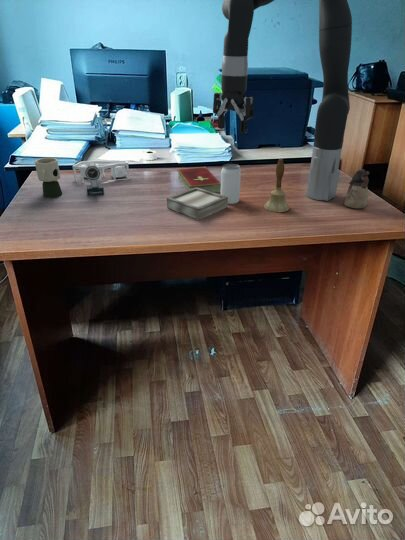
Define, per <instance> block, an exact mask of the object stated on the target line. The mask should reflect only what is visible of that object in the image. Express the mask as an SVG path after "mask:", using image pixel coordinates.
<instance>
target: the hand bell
mask: <svg viewBox="0 0 405 540" xmlns="http://www.w3.org/2000/svg"><path fill="white" fill-rule="evenodd" d="M284 173H285V163H284V159H283V158H279V159H278V161H277V164H276V167H275V176H276V184H275V189H273V190H271V192H270V196H269V199H268V201H267V202H266V203H265V204H264V205H263V207H264V210H266V211H268V212H270V213H271V212H272V213H285V212H288V211H289V210H290V205H289V204H288V203H287V200H286V192H285V191H284V190H282V182H283V181H282V179H283V176H284Z"/></svg>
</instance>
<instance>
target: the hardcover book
mask: <svg viewBox="0 0 405 540" xmlns="http://www.w3.org/2000/svg"><path fill="white" fill-rule="evenodd" d="M176 170H177V173H178V174H177V175H178V179H180V181H181V182H182V184H183V186H184V187H185V189H186V191H187V190H190V189H193V188H195V187H197V188H200V189H204V190H207V191H210V192H213V193H221V181H219V179H217V178H216V176H215V175H214V174H213V173H212V172H211V171H210V169H208V168H207V167H206V166H200V167H199V166H198V167H197V166H196V167H187V168H185V167H184V168H176Z"/></svg>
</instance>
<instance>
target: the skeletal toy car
mask: <svg viewBox="0 0 405 540" xmlns="http://www.w3.org/2000/svg"><path fill="white" fill-rule="evenodd" d="M91 163H95V165H97V167H98V169H99V171H100V172H101V173H102V174H100V177H99V182H98V184H100V182H102V181H103V179H102V177H103V178H105V177H106V174H105V173H106V172H105V170H106V169H110V175H111V177H112V178H113V179H108V180H106V181H105V182H104V184H107V183H113V182H116V181H121V180H122V181H123V180H130V170H129V161H127V160H121V159H119V160H83V161H79V162H78V163H76V164H72V171H73V175H74V182H76V183H77V182H78V177H77V173H76V172H77V171H76V170H79V171H80V172H79V173H80V178H81V183H82V184H85V178H86V179H87V177H86V175H85V171H86V169H87V166H88V164H91ZM117 178H119V179H117ZM120 178H121V179H120Z"/></svg>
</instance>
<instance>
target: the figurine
mask: <svg viewBox="0 0 405 540" xmlns="http://www.w3.org/2000/svg"><path fill="white" fill-rule="evenodd" d="M369 175H370V171H368V170H367V171H366V170H365V169H364V168H363V169H361V168H360V169H358V170H357V171H356V172H354V175H353V176H352V177H351V180H350V181H349V183H348V184H349V186H348V188H347V192H346V194H345V197H344V200H343V204H344V206H345V207H348V208H351V209H364V208H366V206H367V204H368V199H369V197H368V196H369V190H368V185H369V181H370V180H369V177H368V176H369Z"/></svg>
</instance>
